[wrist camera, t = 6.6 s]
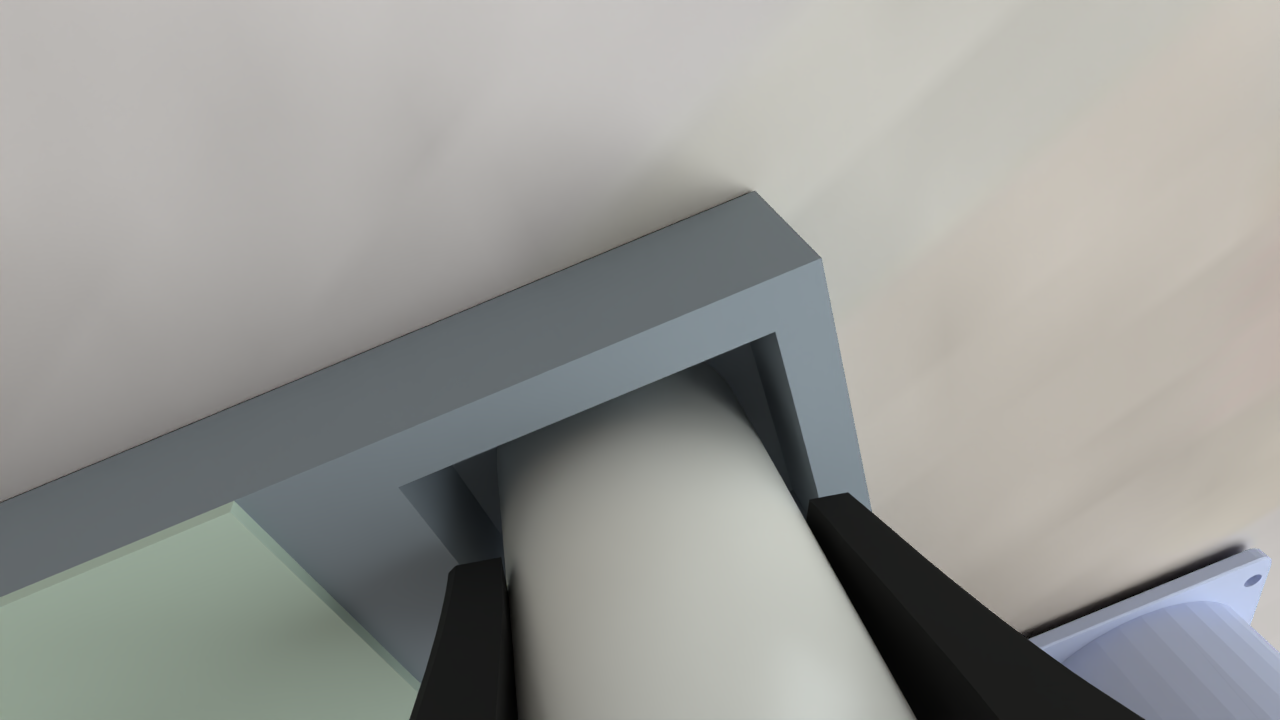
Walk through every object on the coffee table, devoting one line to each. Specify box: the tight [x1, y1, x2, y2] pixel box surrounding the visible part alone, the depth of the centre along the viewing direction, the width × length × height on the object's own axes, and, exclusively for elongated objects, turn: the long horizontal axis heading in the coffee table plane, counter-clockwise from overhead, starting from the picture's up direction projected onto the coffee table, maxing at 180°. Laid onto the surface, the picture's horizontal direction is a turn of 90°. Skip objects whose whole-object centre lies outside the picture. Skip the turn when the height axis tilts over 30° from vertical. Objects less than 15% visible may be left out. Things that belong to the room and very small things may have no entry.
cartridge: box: [497, 361, 917, 720], centre depth 10 cm, size 4×4×7 cm
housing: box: [0, 191, 872, 720], centre depth 13 cm, size 13×14×4 cm
